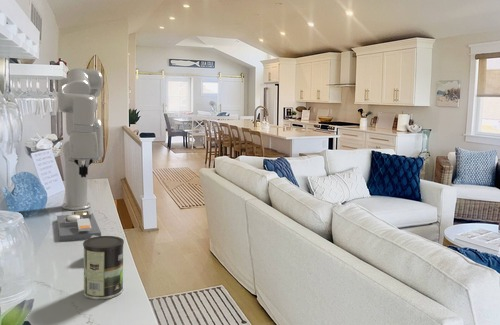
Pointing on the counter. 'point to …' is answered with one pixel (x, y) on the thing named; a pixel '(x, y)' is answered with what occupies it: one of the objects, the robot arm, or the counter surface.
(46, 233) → the counter surface
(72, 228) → the control panel
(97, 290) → the coffee can
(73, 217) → the white button
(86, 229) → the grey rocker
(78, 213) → the brass button
